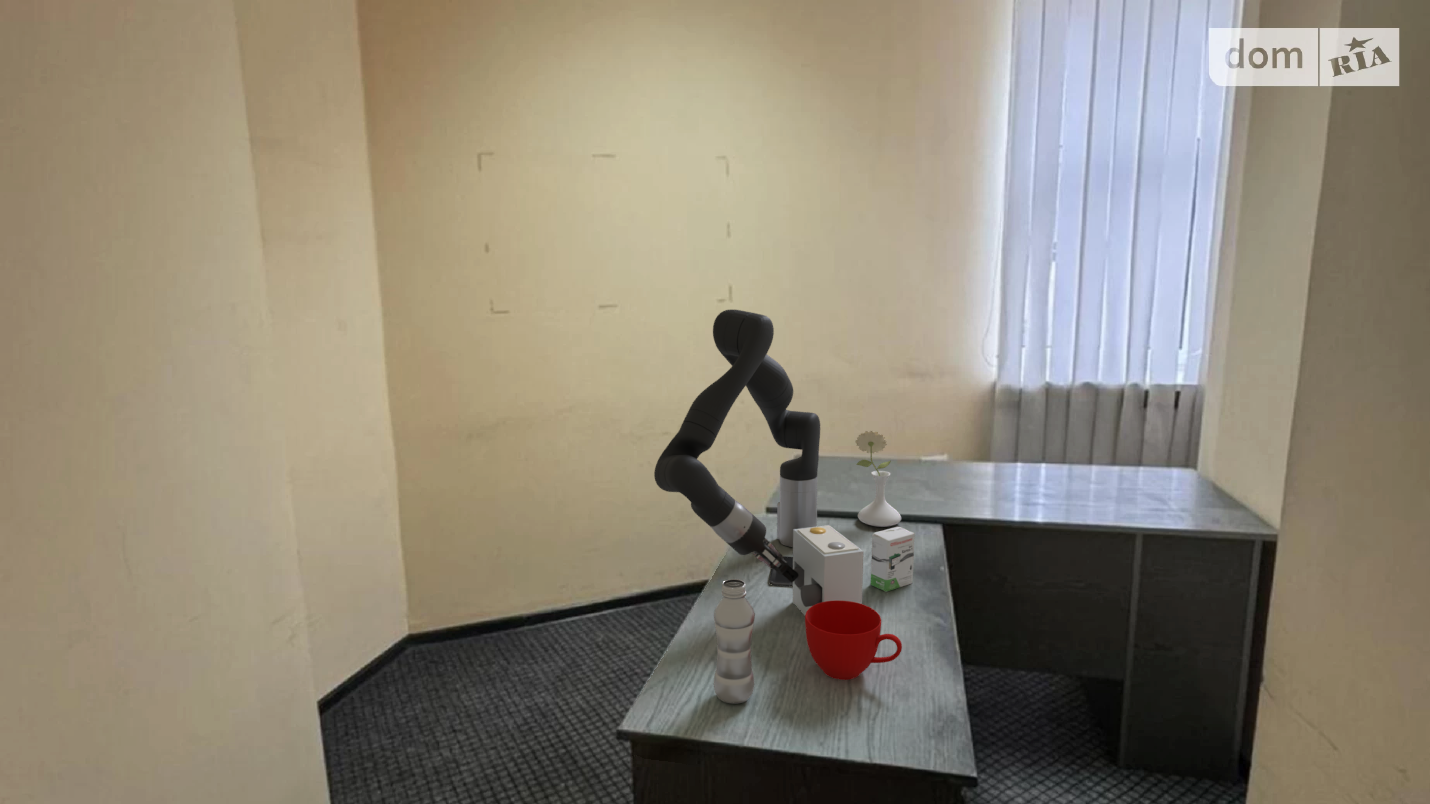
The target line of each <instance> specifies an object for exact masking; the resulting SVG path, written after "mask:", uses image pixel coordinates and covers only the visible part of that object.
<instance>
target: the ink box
mask: <svg viewBox="0 0 1430 804" xmlns="http://www.w3.org/2000/svg"><path fill="white" fill-rule="evenodd" d="M915 536H916V535H915V532H913V531H911V530H907V529H906V528H904V527H900V526H895V527H891V528H887V529H884V530H880V531H876V532H875V531H874V532H873V533H872V537H871V538H872V539H871V559H870V560H871V561H870V562H871V563H870V565H871V566H870V586H873V587H875V588H877V589H879V590H881V591H884V592H885V593H886V592H890V591H893V590H895V589H899V588H902V587H905V586H908V585H911V584H913V581H914V579H913V578H914V577H913V576H914V558H915V557H914V556H915V554H914V553H915V538H916V537H915Z"/></svg>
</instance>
